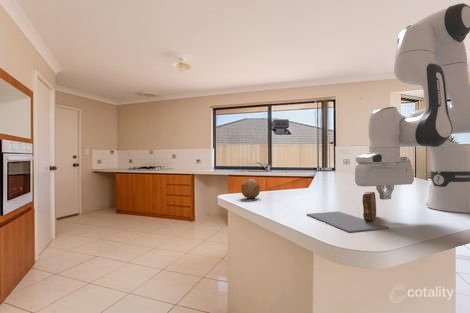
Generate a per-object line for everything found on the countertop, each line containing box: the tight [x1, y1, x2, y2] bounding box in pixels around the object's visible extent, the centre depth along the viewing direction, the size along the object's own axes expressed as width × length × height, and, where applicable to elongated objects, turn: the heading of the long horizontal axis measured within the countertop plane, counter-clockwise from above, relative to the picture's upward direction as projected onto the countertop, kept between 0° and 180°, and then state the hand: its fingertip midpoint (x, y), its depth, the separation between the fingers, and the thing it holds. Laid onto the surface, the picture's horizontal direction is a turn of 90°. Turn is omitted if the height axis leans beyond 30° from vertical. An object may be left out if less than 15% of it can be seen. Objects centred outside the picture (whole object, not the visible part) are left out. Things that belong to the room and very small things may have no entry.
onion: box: [240, 178, 261, 199], centre depth 127 cm, size 10×10×10 cm
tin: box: [362, 191, 377, 223], centre depth 80 cm, size 15×3×8 cm, turn 147°
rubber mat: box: [306, 211, 390, 233], centre depth 79 cm, size 13×22×1 cm, turn 14°
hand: (385, 199), depth 82 cm, fingers closed
